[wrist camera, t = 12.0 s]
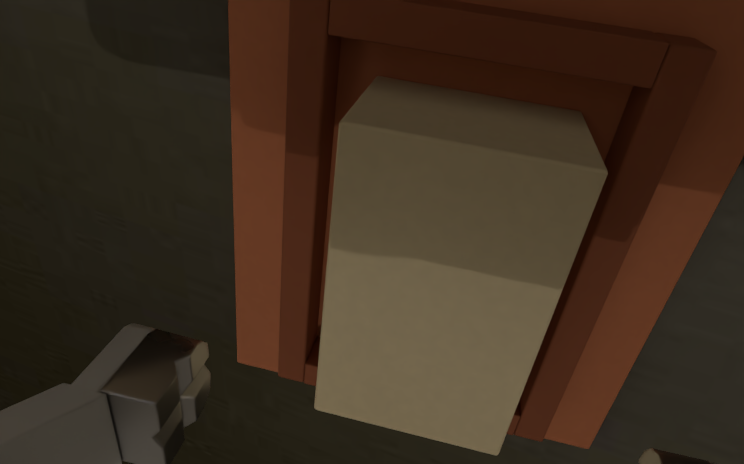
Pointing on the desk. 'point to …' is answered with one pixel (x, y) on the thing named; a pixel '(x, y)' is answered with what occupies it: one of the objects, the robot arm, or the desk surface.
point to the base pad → (507, 80)
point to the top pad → (448, 255)
